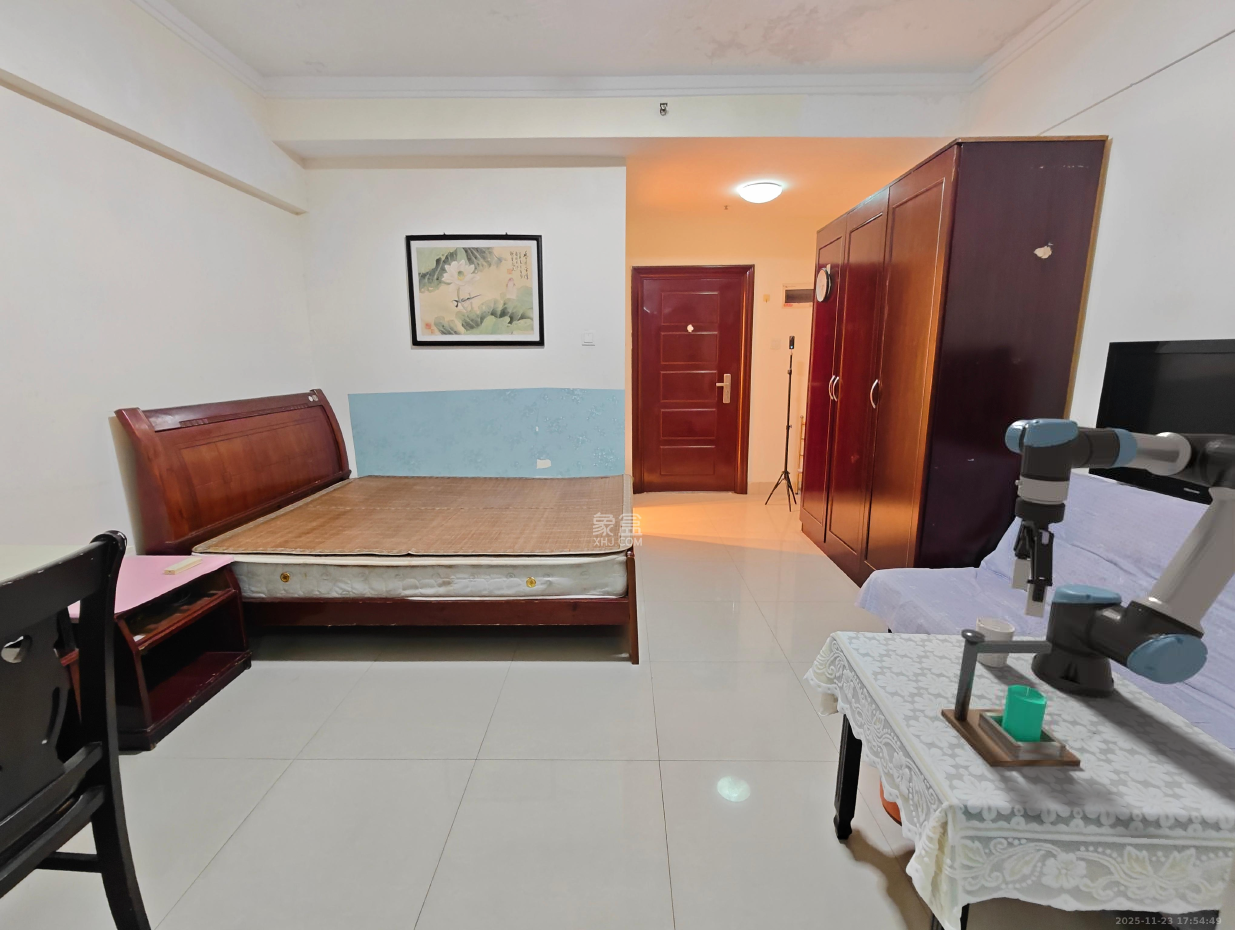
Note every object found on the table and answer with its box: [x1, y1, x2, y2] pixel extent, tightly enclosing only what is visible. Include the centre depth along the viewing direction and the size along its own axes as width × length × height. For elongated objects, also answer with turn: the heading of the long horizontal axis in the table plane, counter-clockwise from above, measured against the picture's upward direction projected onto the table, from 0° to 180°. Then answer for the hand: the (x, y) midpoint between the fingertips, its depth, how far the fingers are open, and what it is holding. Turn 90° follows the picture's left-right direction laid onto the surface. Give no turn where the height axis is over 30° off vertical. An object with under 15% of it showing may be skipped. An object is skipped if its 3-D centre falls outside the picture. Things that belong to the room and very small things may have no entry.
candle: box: [1001, 684, 1048, 742], centre depth 103 cm, size 6×6×12 cm
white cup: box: [975, 616, 1016, 669], centre depth 134 cm, size 8×8×10 cm
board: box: [940, 708, 1082, 767], centre depth 106 cm, size 17×15×4 cm
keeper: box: [953, 628, 1052, 721], centre depth 109 cm, size 18×4×19 cm, turn 91°
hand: (1025, 601), depth 107 cm, fingers open, 13 cm apart
